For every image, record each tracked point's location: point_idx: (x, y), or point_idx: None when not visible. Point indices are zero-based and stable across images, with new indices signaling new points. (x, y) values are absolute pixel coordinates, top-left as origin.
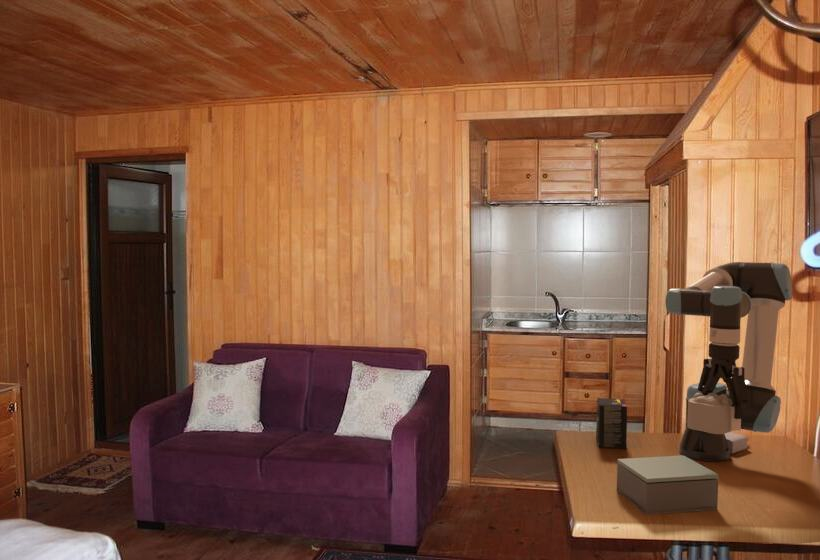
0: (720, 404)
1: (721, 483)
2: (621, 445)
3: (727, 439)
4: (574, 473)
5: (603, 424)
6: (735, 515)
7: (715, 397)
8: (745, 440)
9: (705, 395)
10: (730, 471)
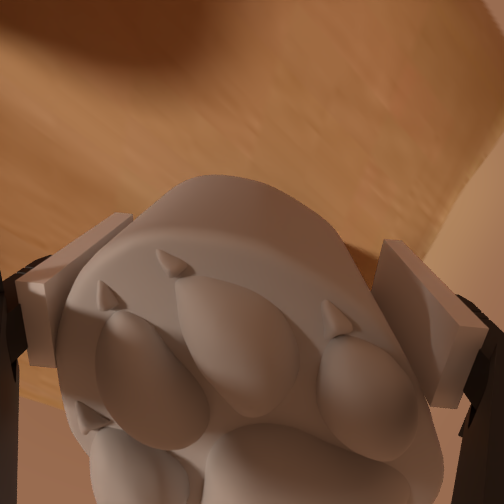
0: (402, 486)
1: (167, 78)
2: None
3: None
4: (51, 395)
5: None
6: (371, 217)
7: (188, 386)
8: None
9: (24, 347)
10: None
